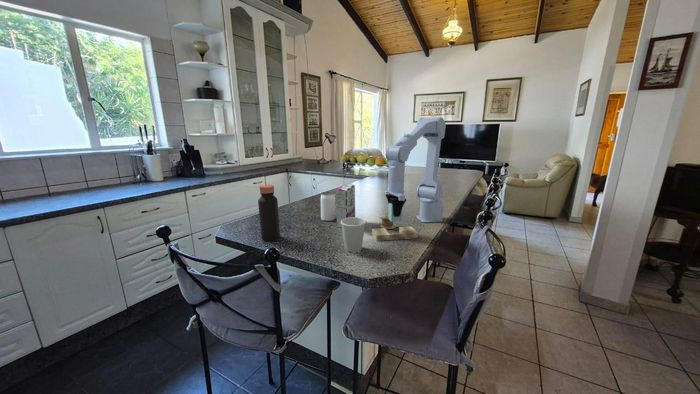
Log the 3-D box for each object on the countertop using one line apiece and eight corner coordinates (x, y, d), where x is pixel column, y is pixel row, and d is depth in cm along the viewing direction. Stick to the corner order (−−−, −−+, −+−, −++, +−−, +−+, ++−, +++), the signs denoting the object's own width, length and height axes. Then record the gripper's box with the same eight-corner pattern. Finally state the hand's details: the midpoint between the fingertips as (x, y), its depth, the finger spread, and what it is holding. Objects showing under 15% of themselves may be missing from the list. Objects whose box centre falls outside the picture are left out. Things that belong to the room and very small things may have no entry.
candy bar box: (344, 219, 124) (344, 183, 120) (355, 220, 122) (355, 184, 118) (335, 227, 113) (335, 189, 109) (347, 229, 112) (346, 190, 108)
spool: (392, 224, 117) (392, 213, 116) (396, 229, 112) (397, 217, 110) (378, 225, 116) (378, 213, 115) (382, 230, 111) (382, 218, 109)
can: (333, 221, 121) (332, 195, 118) (319, 220, 122) (318, 194, 119) (336, 217, 127) (336, 192, 124) (323, 216, 128) (322, 191, 125)
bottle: (257, 240, 101) (252, 187, 96) (269, 233, 107) (265, 183, 102) (272, 243, 99) (268, 188, 94) (283, 236, 105) (280, 185, 100)
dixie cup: (356, 241, 99) (356, 215, 97) (370, 250, 92) (370, 222, 90) (336, 247, 95) (336, 219, 92) (349, 256, 88) (349, 227, 86)
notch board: (411, 231, 109) (411, 226, 109) (417, 237, 103) (418, 232, 102) (371, 233, 107) (372, 228, 107) (376, 240, 100) (376, 235, 100)
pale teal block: (398, 217, 106) (398, 202, 104) (401, 221, 102) (402, 205, 101) (388, 218, 105) (388, 203, 104) (391, 221, 101) (391, 206, 100)
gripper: (380, 175, 106) (379, 209, 110) (391, 183, 92) (390, 221, 96) (397, 175, 107) (396, 208, 111) (411, 182, 93) (409, 220, 97)
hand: (394, 214), depth 103 cm, fingers closed on pale teal block, 4 cm apart
